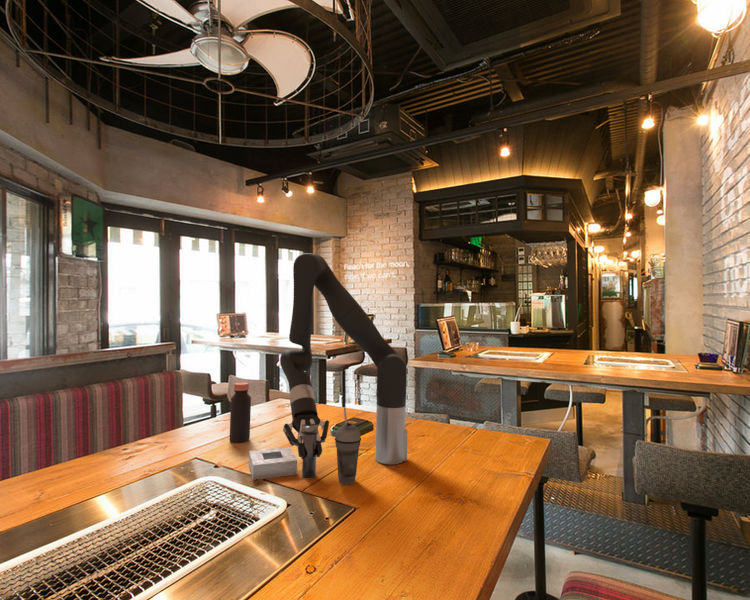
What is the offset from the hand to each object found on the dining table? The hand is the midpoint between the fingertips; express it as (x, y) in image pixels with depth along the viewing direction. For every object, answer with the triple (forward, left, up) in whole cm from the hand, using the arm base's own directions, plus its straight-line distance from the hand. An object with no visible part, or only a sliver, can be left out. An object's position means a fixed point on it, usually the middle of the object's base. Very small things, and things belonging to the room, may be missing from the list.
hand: (311, 456), depth 112 cm
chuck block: (+9, -10, -6) cm, 15 cm away
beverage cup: (-9, +5, -6) cm, 12 cm away
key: (0, -2, -6) cm, 6 cm away
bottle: (+16, -40, -6) cm, 44 cm away
